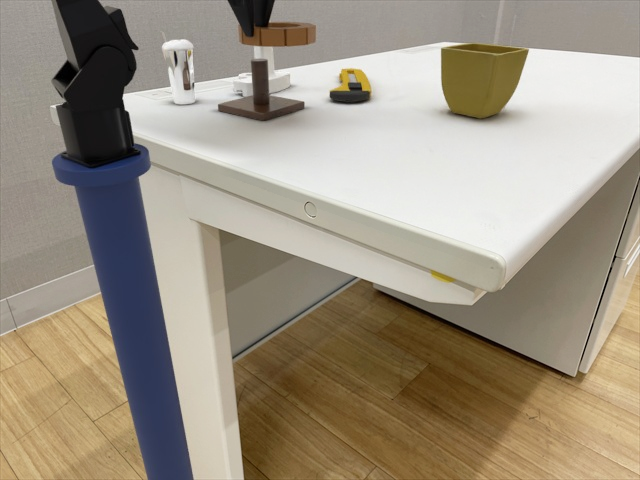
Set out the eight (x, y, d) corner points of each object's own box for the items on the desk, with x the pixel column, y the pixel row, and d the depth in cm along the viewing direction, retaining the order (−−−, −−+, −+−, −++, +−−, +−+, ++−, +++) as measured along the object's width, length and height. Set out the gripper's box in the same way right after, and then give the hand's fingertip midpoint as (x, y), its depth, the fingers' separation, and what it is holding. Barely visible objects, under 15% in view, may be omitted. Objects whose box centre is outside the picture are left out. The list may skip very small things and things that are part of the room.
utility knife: (329, 104, 77) (329, 90, 76) (327, 76, 97) (328, 65, 96) (374, 104, 77) (374, 90, 76) (363, 76, 97) (363, 65, 96)
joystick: (253, 98, 80) (244, -46, 71) (219, 92, 84) (207, -45, 74) (295, 86, 88) (293, -44, 79) (263, 81, 92) (257, -44, 82)
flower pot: (464, 103, 77) (473, 41, 73) (518, 113, 72) (530, 47, 68) (432, 113, 72) (439, 47, 68) (487, 125, 67) (499, 54, 62)
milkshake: (182, 96, 81) (174, 30, 76) (205, 101, 78) (198, 32, 73) (159, 102, 78) (149, 32, 73) (183, 107, 75) (173, 35, 70)
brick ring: (281, 49, 59) (280, 30, 58) (223, 42, 64) (222, 25, 63) (330, 41, 66) (330, 24, 65) (274, 35, 71) (273, 20, 70)
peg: (263, 121, 68) (261, 67, 65) (218, 111, 73) (213, 60, 70) (304, 108, 75) (304, 58, 71) (260, 99, 79) (257, 53, 76)
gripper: (236, -140, 44) (247, 50, 51) (356, -114, 56) (352, 34, 64) (157, -127, 50) (178, 41, 57) (283, -107, 62) (286, 28, 70)
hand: (255, 36), depth 62 cm, fingers closed on brick ring, 2 cm apart
